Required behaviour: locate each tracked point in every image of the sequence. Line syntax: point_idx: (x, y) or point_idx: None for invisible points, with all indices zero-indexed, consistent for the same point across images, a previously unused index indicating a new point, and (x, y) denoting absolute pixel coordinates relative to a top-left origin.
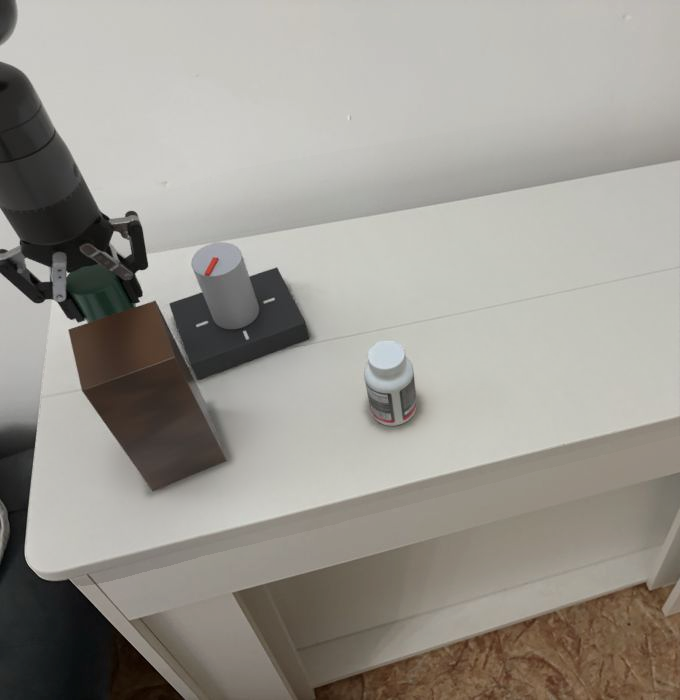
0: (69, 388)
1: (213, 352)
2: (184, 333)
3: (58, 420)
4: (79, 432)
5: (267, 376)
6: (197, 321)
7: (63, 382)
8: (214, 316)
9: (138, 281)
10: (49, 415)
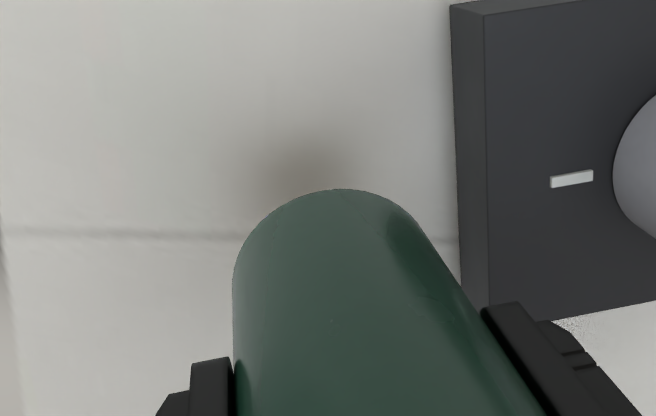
0: (67, 218)
1: (565, 306)
2: (502, 200)
3: (51, 328)
4: (122, 379)
5: (630, 322)
6: (559, 156)
7: (41, 187)
8: (647, 222)
9: (584, 353)
10: (18, 305)
